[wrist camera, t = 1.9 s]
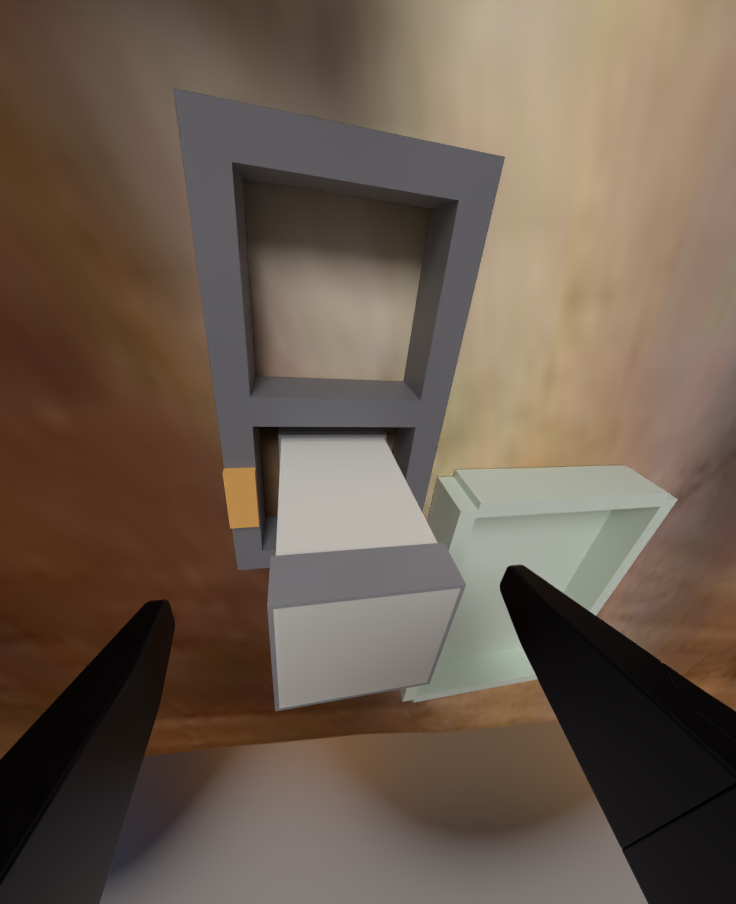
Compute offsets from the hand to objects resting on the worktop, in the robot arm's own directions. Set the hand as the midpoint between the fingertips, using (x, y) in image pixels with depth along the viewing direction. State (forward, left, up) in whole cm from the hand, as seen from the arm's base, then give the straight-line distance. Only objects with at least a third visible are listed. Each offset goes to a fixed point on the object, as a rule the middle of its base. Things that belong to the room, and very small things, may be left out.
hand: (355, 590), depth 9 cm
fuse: (0, 0, -6) cm, 6 cm away
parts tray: (-11, +9, -6) cm, 15 cm away
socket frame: (0, -3, -6) cm, 7 cm away
